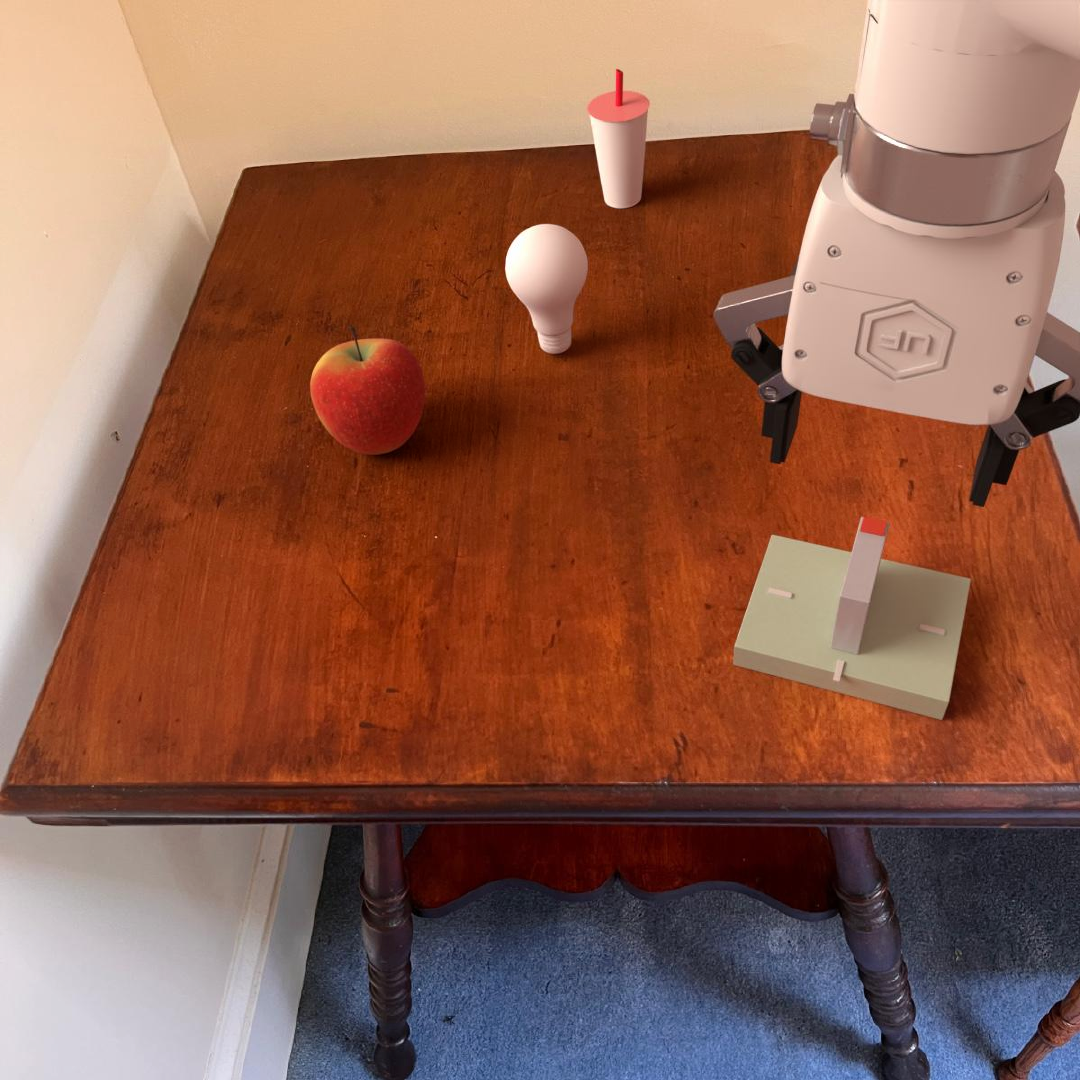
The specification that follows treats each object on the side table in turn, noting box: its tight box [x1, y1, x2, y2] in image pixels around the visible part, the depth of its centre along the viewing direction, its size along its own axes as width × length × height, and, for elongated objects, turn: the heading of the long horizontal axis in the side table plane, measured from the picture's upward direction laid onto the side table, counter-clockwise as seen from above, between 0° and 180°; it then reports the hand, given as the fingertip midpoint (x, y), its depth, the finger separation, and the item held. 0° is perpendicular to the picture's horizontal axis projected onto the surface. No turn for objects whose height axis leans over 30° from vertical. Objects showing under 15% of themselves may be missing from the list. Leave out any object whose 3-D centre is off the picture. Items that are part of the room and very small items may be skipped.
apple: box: [309, 325, 426, 456], centre depth 74 cm, size 8×8×10 cm
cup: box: [586, 68, 651, 209], centre depth 91 cm, size 5×5×12 cm
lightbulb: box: [504, 223, 589, 355], centre depth 78 cm, size 6×6×11 cm
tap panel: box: [732, 534, 972, 721], centre depth 62 cm, size 12×10×2 cm
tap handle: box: [830, 516, 890, 654], centre depth 59 cm, size 6×2×5 cm, turn 158°
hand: (878, 464), depth 52 cm, fingers open, 9 cm apart
